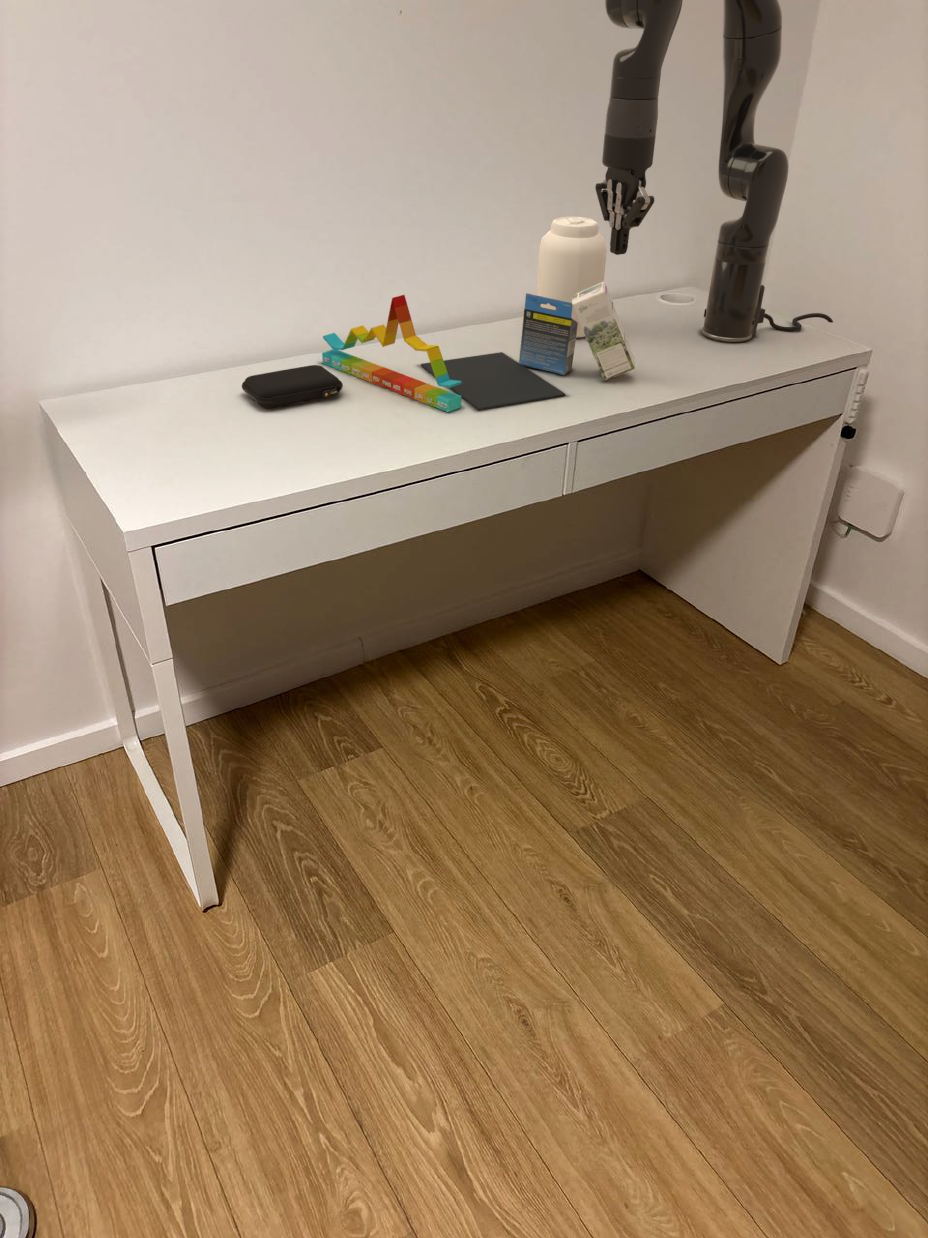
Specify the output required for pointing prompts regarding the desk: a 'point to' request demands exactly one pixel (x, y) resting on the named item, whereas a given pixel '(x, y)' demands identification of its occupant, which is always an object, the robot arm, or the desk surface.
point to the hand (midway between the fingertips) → (617, 252)
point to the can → (570, 261)
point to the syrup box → (603, 331)
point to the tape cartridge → (548, 335)
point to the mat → (495, 381)
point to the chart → (390, 377)
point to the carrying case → (292, 386)
